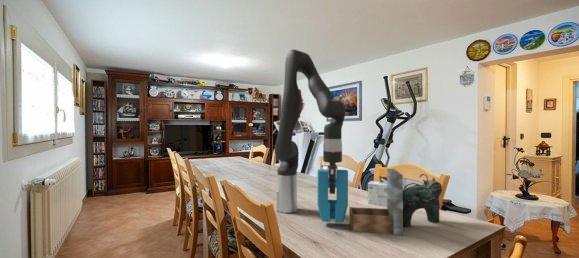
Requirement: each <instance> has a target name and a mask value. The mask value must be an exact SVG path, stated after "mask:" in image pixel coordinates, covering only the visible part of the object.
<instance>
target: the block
mask: <svg viewBox="0 0 579 258" xmlns="http://www.w3.org/2000/svg"><path fill="white" fill-rule="evenodd" d="M328 173H329V171H328V170H327V168H324V169H323V168H322V169H321V168H318V169H317V191H316V192H317V199H316V200H317V201H316V204H317V208H318V212H319V215H320V220H321V221H322V223H323V222H325V223H326V222H327V223H330V222H331V220H334V222H335V223H344V220H345V217H346V213H347V210H348V207H349V170H347V169H337V178H336V179H335V182H336V183H335V189H336V199H329V178H328ZM330 180H333V181H334V178H331V179H330Z"/></svg>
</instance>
